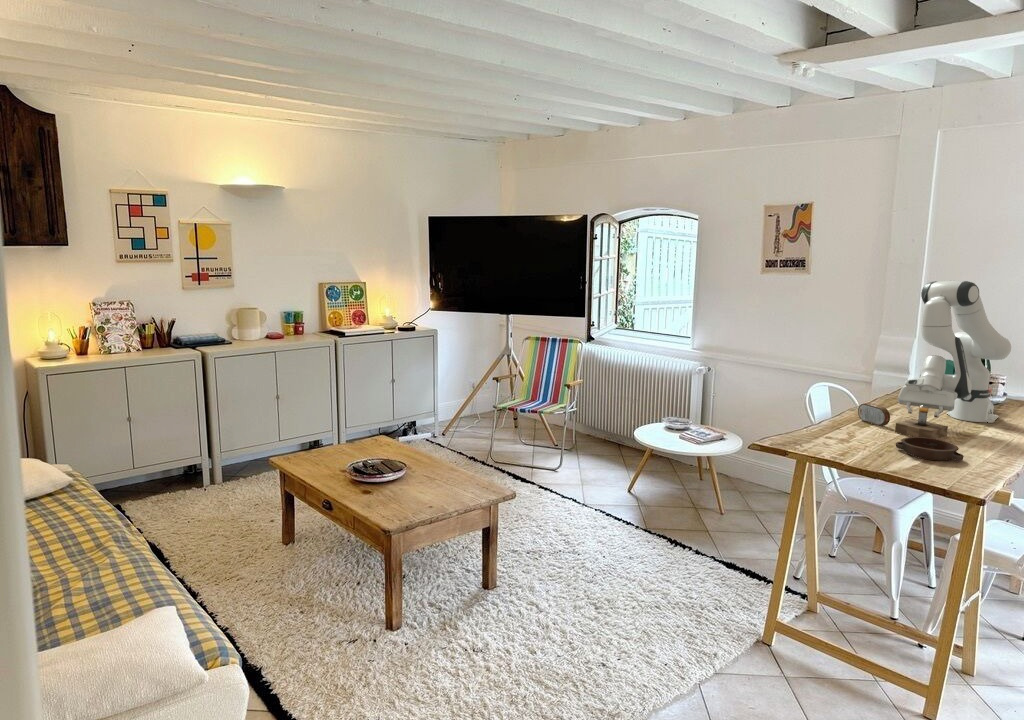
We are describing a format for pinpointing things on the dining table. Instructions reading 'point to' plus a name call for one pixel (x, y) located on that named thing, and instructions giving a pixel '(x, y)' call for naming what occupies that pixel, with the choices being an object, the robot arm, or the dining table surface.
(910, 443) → the dish
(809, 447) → the dining table surface
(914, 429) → the brown square frame
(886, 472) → the dining table surface
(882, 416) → the tin
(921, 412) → the grey upright cylinder
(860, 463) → the dining table surface
